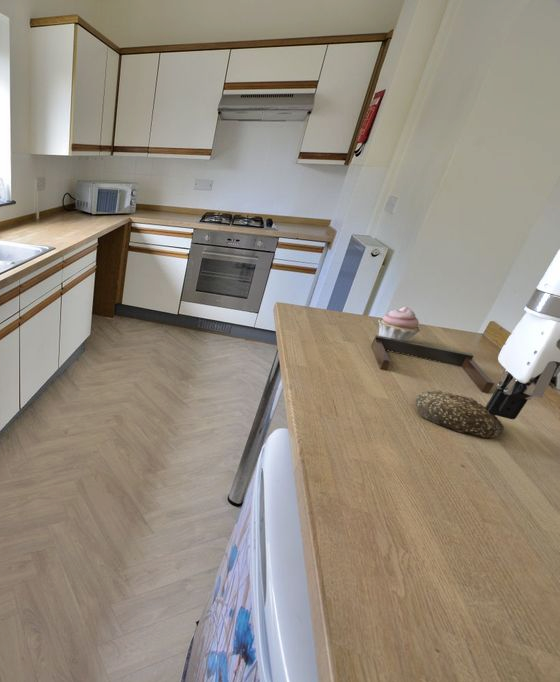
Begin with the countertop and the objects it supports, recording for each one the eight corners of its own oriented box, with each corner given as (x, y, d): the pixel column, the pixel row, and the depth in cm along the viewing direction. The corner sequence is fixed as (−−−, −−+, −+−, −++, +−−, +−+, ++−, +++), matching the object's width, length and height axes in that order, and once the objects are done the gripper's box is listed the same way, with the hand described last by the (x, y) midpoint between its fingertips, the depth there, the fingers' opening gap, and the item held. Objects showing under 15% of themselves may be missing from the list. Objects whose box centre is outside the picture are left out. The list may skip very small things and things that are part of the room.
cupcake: (363, 334, 117) (376, 301, 113) (390, 333, 118) (404, 300, 114) (393, 348, 108) (409, 313, 104) (422, 347, 110) (438, 312, 106)
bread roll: (408, 415, 79) (418, 393, 77) (419, 394, 87) (429, 373, 85) (500, 449, 71) (515, 425, 69) (503, 422, 79) (517, 400, 77)
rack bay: (465, 365, 101) (471, 353, 100) (488, 393, 89) (496, 380, 87) (371, 345, 110) (375, 335, 108) (380, 369, 97) (385, 357, 96)
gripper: (641, 331, 51) (554, 448, 58) (575, 299, 63) (511, 400, 70) (556, 317, 54) (485, 430, 62) (509, 290, 66) (454, 387, 74)
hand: (499, 414), depth 66 cm, fingers closed
